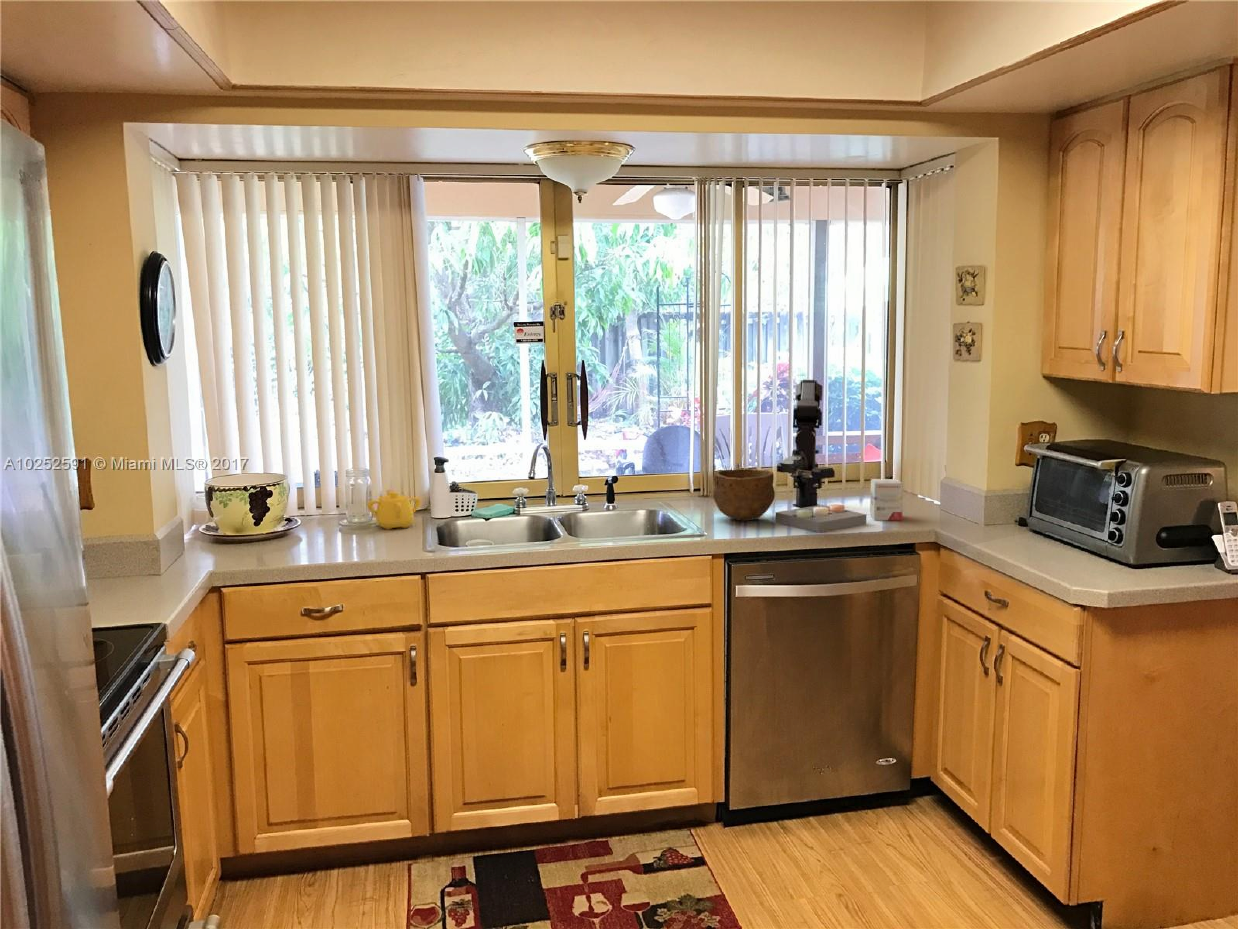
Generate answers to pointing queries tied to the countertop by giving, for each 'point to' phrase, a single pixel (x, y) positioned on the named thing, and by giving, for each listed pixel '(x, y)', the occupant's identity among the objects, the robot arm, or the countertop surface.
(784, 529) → the countertop surface
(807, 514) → the sage button
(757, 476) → the bowl
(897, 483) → the ink box
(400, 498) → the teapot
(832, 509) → the orange button
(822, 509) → the cream button
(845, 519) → the panel
